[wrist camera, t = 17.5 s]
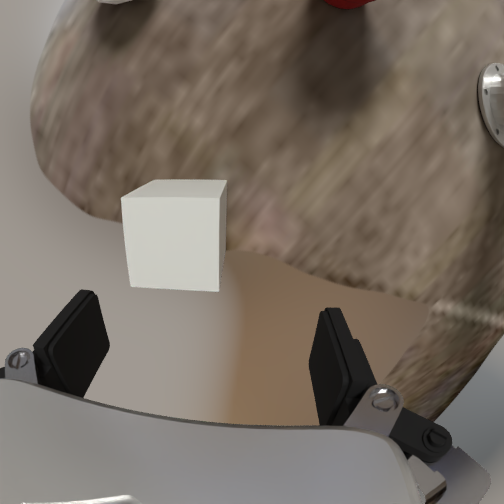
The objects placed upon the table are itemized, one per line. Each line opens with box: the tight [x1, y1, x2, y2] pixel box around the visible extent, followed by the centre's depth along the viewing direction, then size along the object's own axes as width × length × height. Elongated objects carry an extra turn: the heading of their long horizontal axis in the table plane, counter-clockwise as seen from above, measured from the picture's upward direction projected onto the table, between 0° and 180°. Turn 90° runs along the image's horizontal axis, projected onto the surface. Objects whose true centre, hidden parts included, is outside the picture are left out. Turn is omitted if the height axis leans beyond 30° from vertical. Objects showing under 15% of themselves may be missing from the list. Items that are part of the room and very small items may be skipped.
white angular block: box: [121, 180, 227, 292], centre depth 26 cm, size 8×8×9 cm
